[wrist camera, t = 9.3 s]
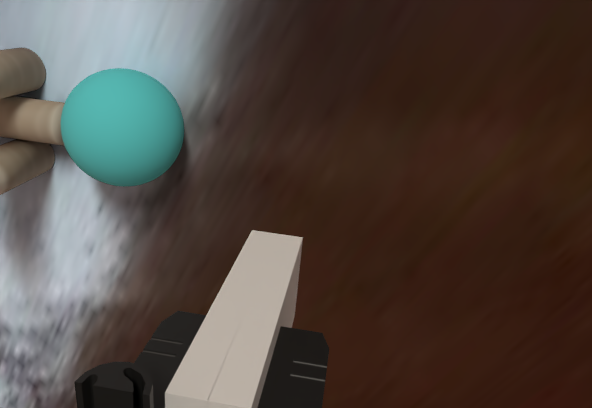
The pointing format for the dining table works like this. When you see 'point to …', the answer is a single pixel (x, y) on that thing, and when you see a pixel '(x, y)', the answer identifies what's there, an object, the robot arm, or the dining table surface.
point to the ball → (122, 127)
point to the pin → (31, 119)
